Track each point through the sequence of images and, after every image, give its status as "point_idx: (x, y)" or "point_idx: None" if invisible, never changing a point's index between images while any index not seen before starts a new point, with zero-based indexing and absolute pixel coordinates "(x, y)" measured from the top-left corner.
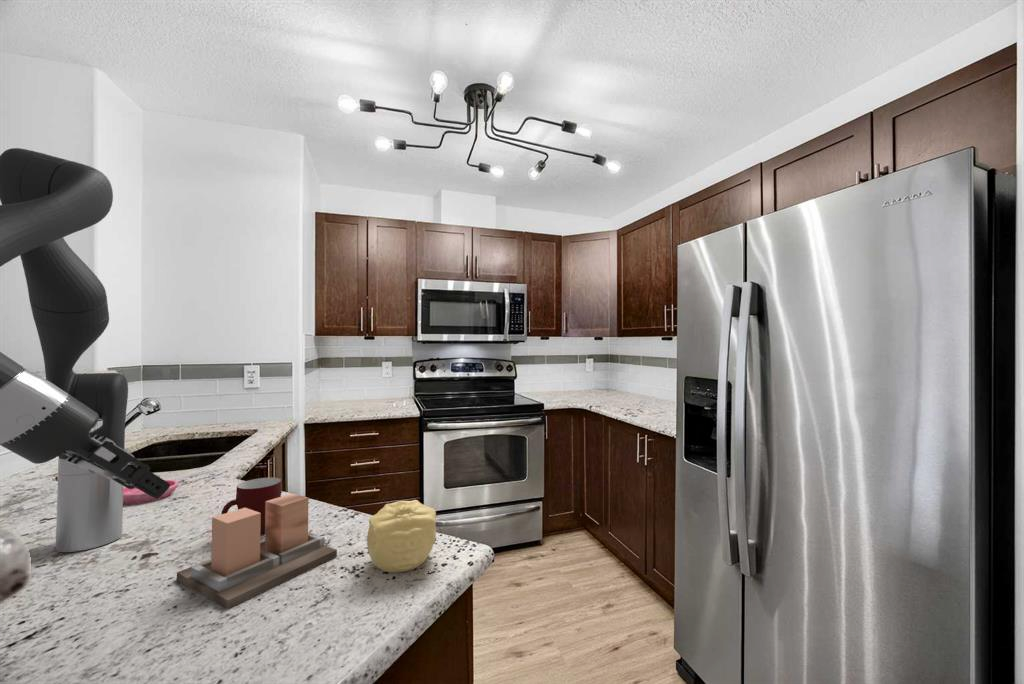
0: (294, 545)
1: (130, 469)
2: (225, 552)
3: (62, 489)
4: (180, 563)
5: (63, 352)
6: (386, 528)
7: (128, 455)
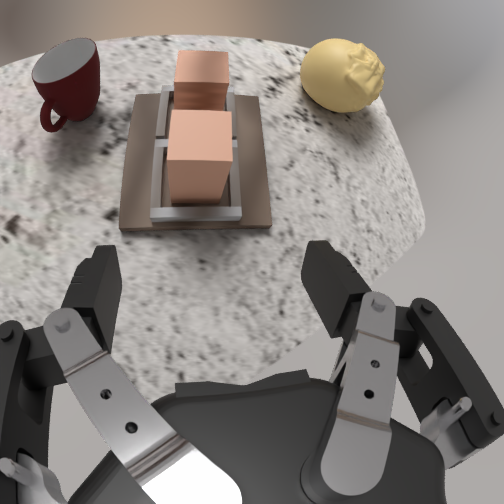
0: None
1: (103, 282)
2: (219, 185)
3: None
4: (73, 208)
5: None
6: (374, 89)
7: (472, 362)
